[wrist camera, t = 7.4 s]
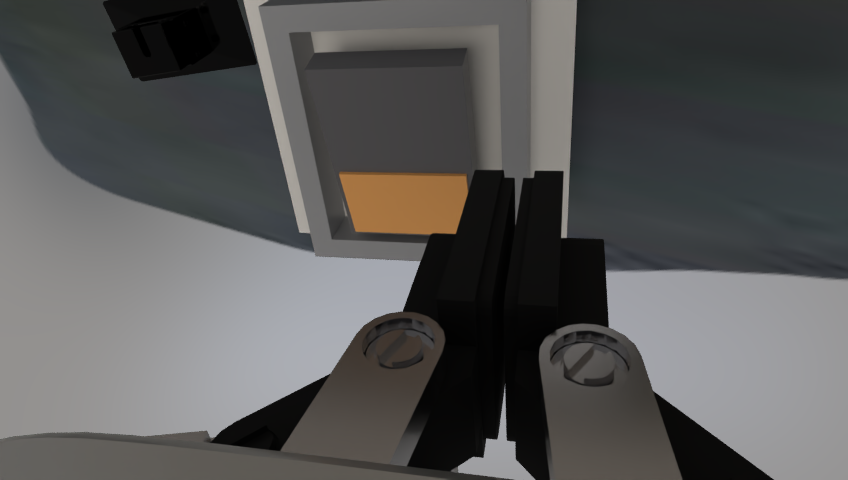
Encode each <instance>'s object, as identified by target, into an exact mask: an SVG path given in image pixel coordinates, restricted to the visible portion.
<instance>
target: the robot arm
mask: <svg viewBox="0 0 848 480" xmlns="http://www.w3.org/2000/svg"><path fill="white" fill-rule="evenodd" d="M563 179H564V171H535V172H534V178H523V182H522V188H521V194H520V201H519V207H518V213H517V220H516V224H515V178H506V177H505V175H504V170H475V171H474V174H473V178H472V181H471V184H470V188H469V191H468V194H467V198H466V201H465V205H464V208H463V211H462V215H461V218H460V221H459V225H458V228H457V231H456V234H447V233H432V234H431V235H430V237H429V240H428V242H427V245H426V248H425V251H424V254H423V256H422V259H421V262H420V265H419V268H418V270H417V273H416V276H415V279H414V282H413V284H412V287H411V290H410V293H409V296H408V298H407V301H406V304H405V307H404V309H403V312H396V313H389V314H386V315H383V316H381V317H378V318H375V319H373V320H372V321H371V322H369V323H367V324H366V325H364V326H363V327H362V329H361V330H360V331H359V332H358V333H357V334H356V336H355V337H354V339H353V340H352V342H351V343H350V345H349V346H348V348H347V349H346V351H345V353H344V354H343V355H342V357H341V359H340V360H339V362H338V363H337V365H336V366H335V368H334V369H333V371H332V372H331V374H329V375H327V376H325V377H323V378H321V379H319V380H317V381H315V382H313V383H311V384H309V385H307V386H305V387H303V388H301V389H300V390H297V391H295V392H294V393H291V394H290V395H288V396H286V397H284V398H282V399H280V400H278V401H276V402H274V403H272V404H270V405H268V406H266V407H264V408H262V409H260V410H258V411H256V412H254V413H252V414H250V415H248V416H246V417H244V418H242V419H240V420H239V421H236V422H235V423H233V424H232V425H230V426H228V427H227V428H225V429H224V430H222V431H221V432H220V433H219V434H218V435H217V436H216V437H215V438H210V437H209V434H208V432H207V431H199V432H188V433H178V434H166V435H155V436H145V437H144V436H134V435H120V434H103V433H89V432H77V433H76V432H75V433H43V434H34V435H24V436H14V437H9V438H5V439H0V480H512V479H504V478H496V477H488V476H480V475H472V474H464V473H458V466H459V465H461V464H462V463H464V462H465V461H467V460H468V459H470V458H472V457H482V458H483V457H484V450H485V443H486V438H488V439H497V438H498V433H499V426H500V418H501V411H502V403H503V395H504V387H505V389H506V390H505V391H506V392H505V393H506V428H507V429H506V430H507V441H515V442H516V460H517V461H518V462H519V463H520V464H521V465H522V466H523V467H524V468H525V469H526V470H527V471H528V472H529V473H530V474H531V475H532V476H533V477H534V478H535V480H774V479H772V478H771V477H769V476H768V475H767V474H765V473H764V472H763V471H761V470H760V469H758V468H757V467H756V466H754V465H753V464H752V463H750V462H749V461H748V460H746V459H745V458H744V457H742V456H741V455H739V454H738V453H737V452H735V451H734V450H733V449H731V448H730V447H728V446H727V445H726V444H724V443H723V442H722V441H720V440H719V439H718V438H716V437H715V436H714V435H712V434H711V433H710V432H708V431H707V430H705V429H704V428H703V427H701V426H700V425H699V424H697V423H696V422H695V421H693V420H692V419H690V418H689V417H688V416H686V415H685V414H684V413H682V412H681V411H680V410H678V409H677V408H675V407H674V406H672V405H671V404H670V403H669V402H667V401H666V400H665V399H663V398H662V397H661V396H659V395H658V394H656V393H655V392H654V391H653V390H652V387H651V383H650V380H649V378H648V374H647V371H646V368H645V366H644V362H643V359H642V356H641V355H640V353H639V351H638V349H637V347H636V345H635V344H634V343H632V342H631V341H630V340H629V339H628V338H627V337H626V336H625V335H623V334H621V333H619V332H617V331H615V330H613V329H611V328H609V325H608V306H607V289H606V270H605V252H604V240H603V239H581V238H561V232H562V205H563Z"/></svg>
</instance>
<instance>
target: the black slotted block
mask: <svg viewBox="0 0 848 480" xmlns="http://www.w3.org/2000/svg"><path fill="white" fill-rule="evenodd" d="M103 5H104V7H105V9H106V11H107V13H108V15H109V17H110V19H111V21H112V23H113V26H114V28H115V30H116V31H115V32H113V33H112V35H113V37H114V40H115V42H116V44H117V46H118V48H119V50H120V52H121V54H122V57H123V59H124V61H125V63H126V65H127V67H128V69H129V72H130V74H131V76H132V78H139V79H140V80H141V81H149V80H155V79H162V78H169V77H175V76H182V75H189V74H195V73H202V72H209V71H215V70H222V69H229V68H235V67H242V66H249V65H255V64H256V63H257V61H256V58H255V55H254V52H253V49H252V46H251V42H250V39H249V36H248V33H247V30H246V27H245V24H244V21H243V18H242V15H241V12H240V8H239V5H238V2H237V0H108V1H104V2H103Z"/></svg>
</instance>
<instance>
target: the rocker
mask: <svg viewBox="0 0 848 480" xmlns="http://www.w3.org/2000/svg"><path fill="white" fill-rule="evenodd" d="M304 71H305V74H306V78H307V81H308V84H309V88H310V91H311V94H312V98H313V101H314V105H315V108H316V111H317V115H318V118H319V121H320V125H321V128H322V131H323V135H324V138H325V142H326V145H327V148H328V152H329V155H330V158H331V162H332V165H333V169H334V172H335V175H336V179H337V182H338V185H339V189H340V192H341V196H342V199H343V202H344V206H345V209H346V212H347V216H348V219H349V222H350V226H351V229H352V233H372V234H399V235H425V236H430V235H431V234H432V233H447V234H456V231H457V228H458V225H459V221H460V218H461V215H462V211H463V208H464V205H465V201H466V198H467V194H468V191H469V188H470V184H471V181H472V178H473V174H474V171H475V170H478V163H477V152H476V140H475V129H474V117H473V106H472V94H471V83H470V72H469V60H468V49H467V48H451V49H418V50H385V51H352V52H319V53H314V55H313V56H312V58H311V59H310V61H309V63H308V64H307V66H306V68H305V69H304Z"/></svg>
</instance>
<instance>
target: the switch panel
mask: <svg viewBox="0 0 848 480" xmlns="http://www.w3.org/2000/svg"><path fill="white" fill-rule="evenodd" d="M244 4H245V8H246V13H247V17H248V21H249V25H250V29H251V33H252V37H253V42H254V46H255V50H256V54H257V58H258V62H259V66H260V71H261V75H262V79H263V83H264V87H265V91H266V95H267V100H268V104H269V108H270V112H271V116H272V120H273V124H274V129H275V133H276V137H277V141H278V145H279V149H280V153H281V157H282V162H283V166H284V170H285V174H286V178H287V182H288V186H289V191H290V195H291V199H292V203H293V207H294V211H295V215H296V220H297V224H298V228H299V232H300V233H310V234H311V238H312V242H313V247H314V251H315V255H316V256H322V257H343V258H365V259H385V260H406V261H421V259H422V256H423V254H424V251H425V248H426V245H427V242H428V240H429V237H430V236H425V235H399V234H372V233H352V229H351V226H350V222H349V219H348V216H347V212H346V209H345V206H344V202H343V199H342V196H341V192H340V189H339V185H338V182H337V179H336V175H335V172H334V169H333V165H332V162H331V158H330V155H329V152H328V148H327V145H326V142H325V138H324V135H323V131H322V128H321V125H320V121H319V118H318V115H317V111H316V108H315V105H314V101H313V98H312V94H311V91H310V88H309V84H308V81H307V78H306V74H305V71H304V69H305V68H306V66H307V64H308V63H309V61H310V59H311V58H312V56H313V55H314V53H319V52H352V51H385V50H418V49H451V48H467V49H468V60H469V72H470V83H471V94H472V106H473V117H474V129H475V140H476V152H477V163H478V170H504V175H505V177H506V178H515V224H516V220H517V213H518V207H519V201H520V194H521V188H522V182H523V178H534V172H535V171H564V179H563V205H562V232H561V238H567V218H568V195H569V172H570V149H571V126H572V103H573V80H574V56H575V33H576V10H577V0H244Z"/></svg>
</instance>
